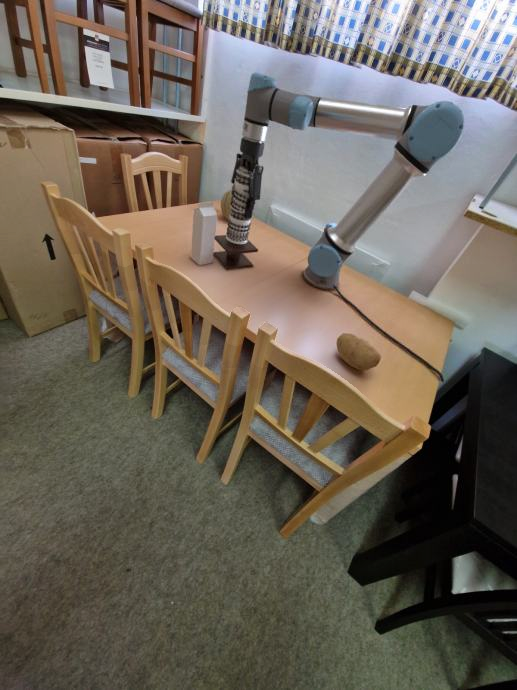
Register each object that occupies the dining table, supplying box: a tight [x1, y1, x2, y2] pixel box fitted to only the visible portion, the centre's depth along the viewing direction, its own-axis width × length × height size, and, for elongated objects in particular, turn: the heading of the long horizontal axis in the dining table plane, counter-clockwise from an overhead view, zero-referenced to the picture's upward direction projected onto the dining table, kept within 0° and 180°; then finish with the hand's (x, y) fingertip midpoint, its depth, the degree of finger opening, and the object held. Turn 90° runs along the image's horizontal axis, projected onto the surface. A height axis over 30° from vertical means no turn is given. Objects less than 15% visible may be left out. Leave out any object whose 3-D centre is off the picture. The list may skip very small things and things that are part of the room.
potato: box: [336, 332, 382, 372], centre depth 89 cm, size 10×14×8 cm
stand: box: [213, 234, 259, 271], centre depth 118 cm, size 13×13×8 cm
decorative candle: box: [225, 166, 255, 244], centre depth 106 cm, size 9×9×25 cm
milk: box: [190, 201, 218, 266], centre depth 108 cm, size 6×6×22 cm
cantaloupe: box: [220, 189, 232, 220], centre depth 146 cm, size 15×15×15 cm
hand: (241, 212), depth 108 cm, fingers closed on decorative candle, 9 cm apart
